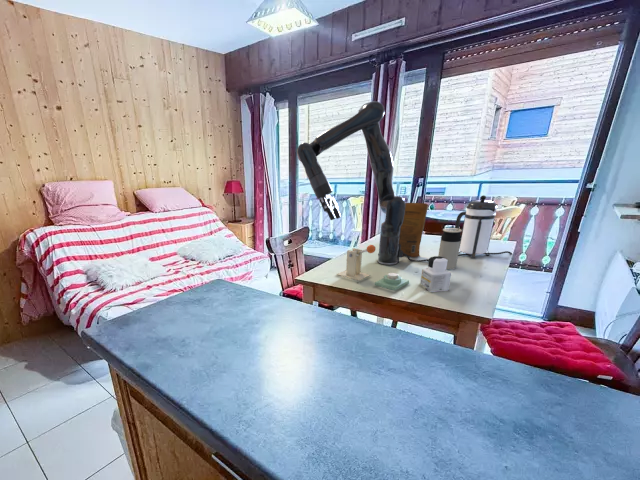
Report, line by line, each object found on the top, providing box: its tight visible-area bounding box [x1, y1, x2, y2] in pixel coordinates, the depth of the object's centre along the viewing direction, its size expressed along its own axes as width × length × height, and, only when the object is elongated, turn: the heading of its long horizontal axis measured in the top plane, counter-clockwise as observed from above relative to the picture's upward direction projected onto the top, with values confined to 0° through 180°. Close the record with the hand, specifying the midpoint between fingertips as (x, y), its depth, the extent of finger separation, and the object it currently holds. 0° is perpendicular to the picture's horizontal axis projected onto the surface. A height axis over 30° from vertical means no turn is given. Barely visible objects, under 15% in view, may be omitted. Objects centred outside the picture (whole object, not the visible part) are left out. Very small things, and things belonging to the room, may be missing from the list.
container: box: [419, 255, 452, 293], centre depth 131 cm, size 8×8×13 cm
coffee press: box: [454, 194, 498, 259], centre depth 165 cm, size 17×16×30 cm
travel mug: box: [437, 227, 462, 270], centre depth 152 cm, size 8×8×18 cm
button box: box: [374, 274, 410, 291], centre depth 137 cm, size 11×9×4 cm
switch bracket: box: [336, 248, 371, 281], centre depth 148 cm, size 12×9×13 cm
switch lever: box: [355, 244, 376, 256], centre depth 142 cm, size 12×4×4 cm, turn 38°
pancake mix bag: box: [399, 202, 429, 258], centre depth 171 cm, size 7×19×28 cm, turn 43°
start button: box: [387, 272, 399, 279], centre depth 136 cm, size 4×4×2 cm
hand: (336, 218), depth 146 cm, fingers open, 8 cm apart
